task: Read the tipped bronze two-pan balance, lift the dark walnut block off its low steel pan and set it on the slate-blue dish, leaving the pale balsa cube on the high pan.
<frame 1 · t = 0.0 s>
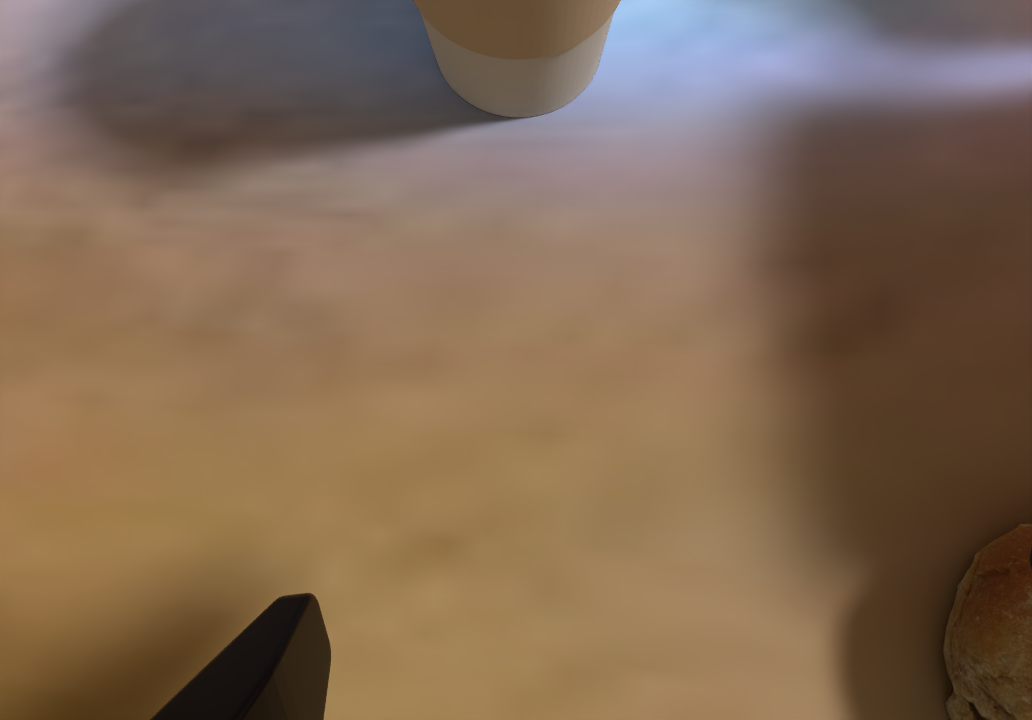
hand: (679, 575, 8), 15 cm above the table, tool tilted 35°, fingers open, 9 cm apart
coffee cup: (517, 44, 26), on the table
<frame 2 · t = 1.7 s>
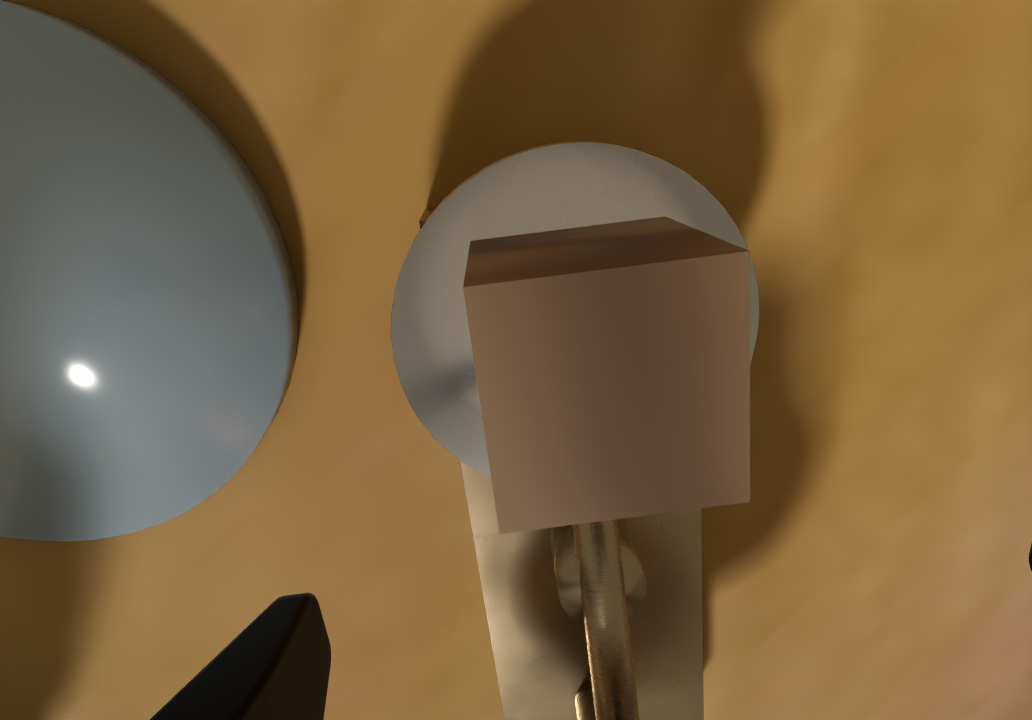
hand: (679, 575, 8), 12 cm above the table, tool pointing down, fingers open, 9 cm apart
balance: (579, 496, 22), on the table
walnut block: (576, 322, 15), point 4 cm above the table, touching balance
dish: (27, 295, 18), on the table
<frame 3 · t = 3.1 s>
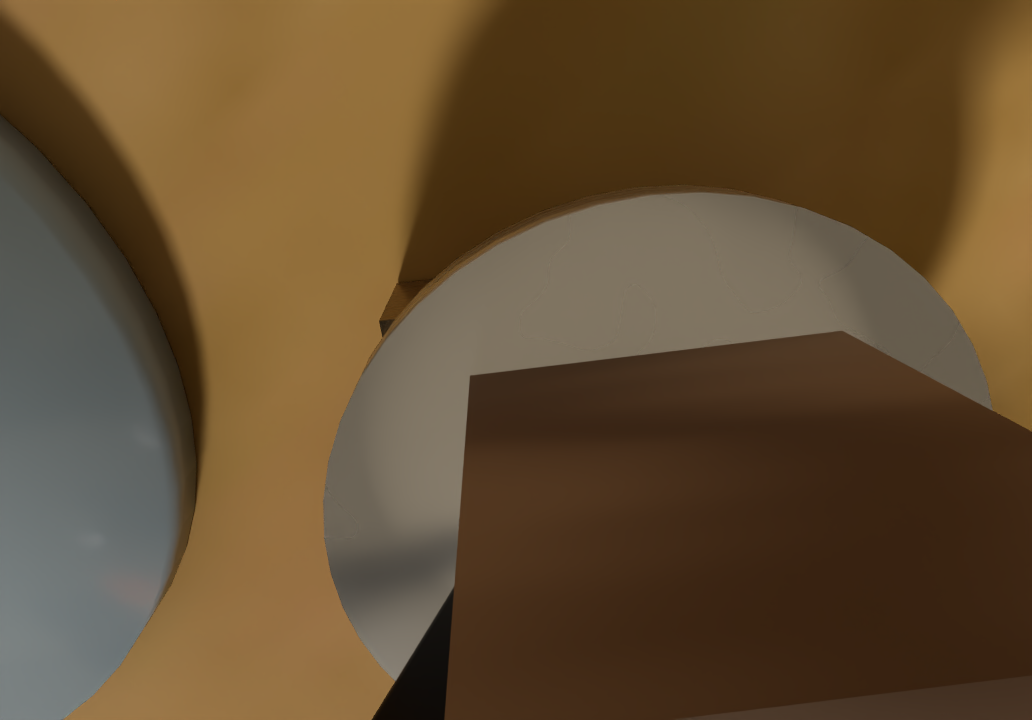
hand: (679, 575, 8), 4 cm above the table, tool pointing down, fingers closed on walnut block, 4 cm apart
balance: (629, 691, 15), on the table
walnut block: (663, 514, 8), point 4 cm above the table, touching balance, gripper
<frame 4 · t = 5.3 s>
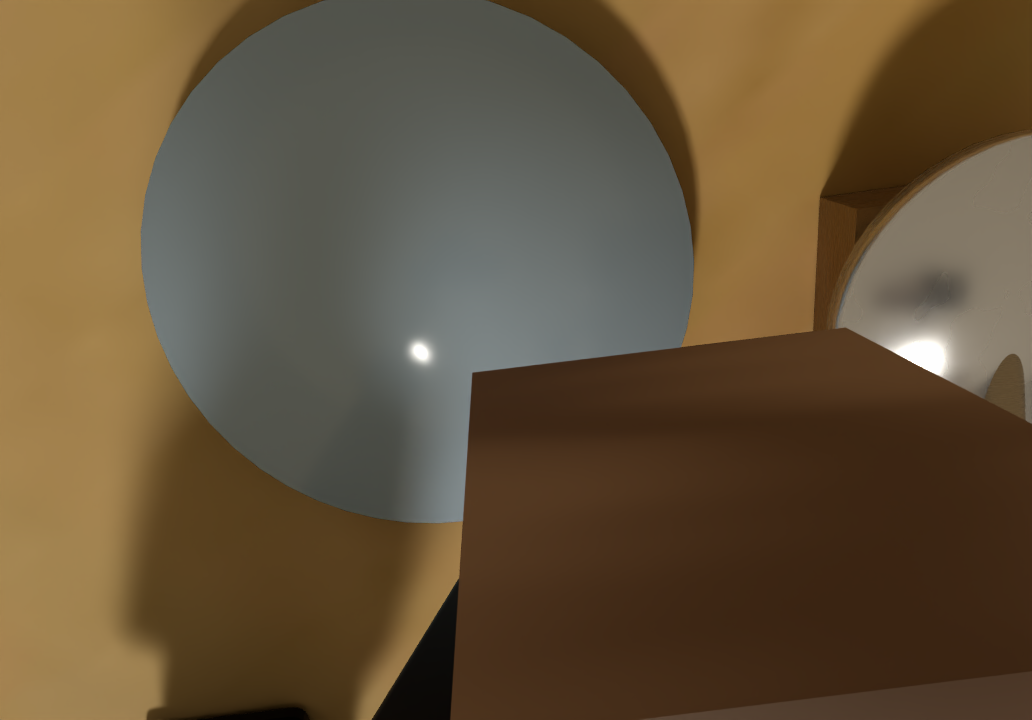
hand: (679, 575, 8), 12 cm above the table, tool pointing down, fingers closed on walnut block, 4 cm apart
balance: (906, 476, 22), on the table
walnut block: (666, 512, 8), point 11 cm above the table, touching gripper
dish: (427, 287, 19), on the table
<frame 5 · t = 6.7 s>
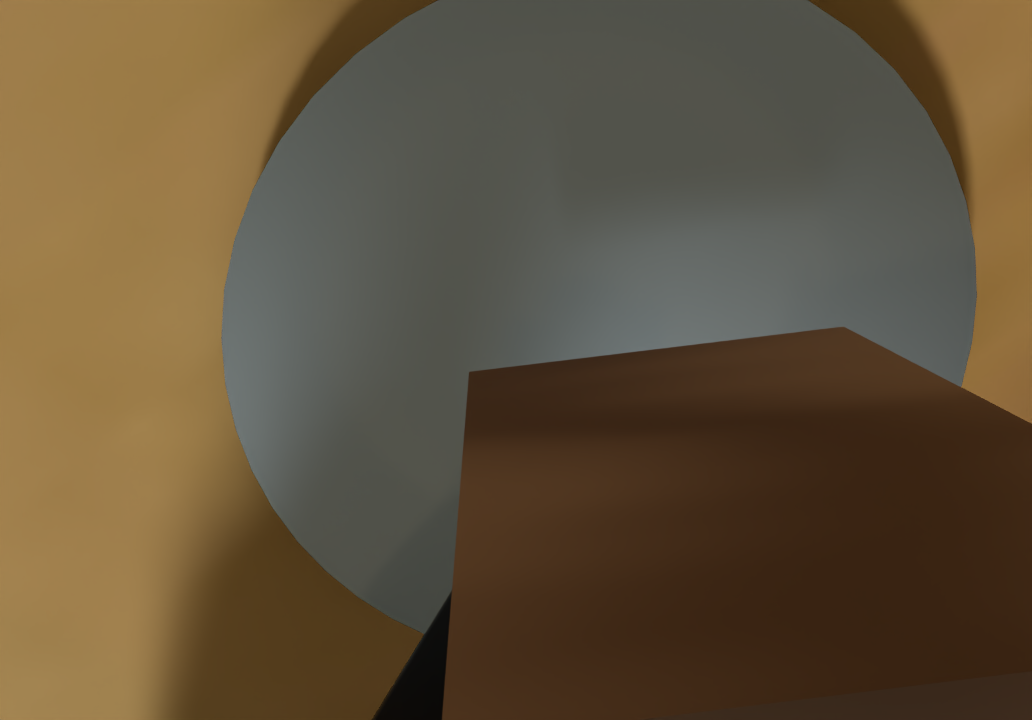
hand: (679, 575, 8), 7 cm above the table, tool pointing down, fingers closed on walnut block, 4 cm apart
walnut block: (663, 512, 8), point 6 cm above the table, touching gripper
dish: (595, 363, 14), on the table
when the fingers open (3 cm above the table, at t = 7.7 s): walnut block drops 1 cm, resting on dish.
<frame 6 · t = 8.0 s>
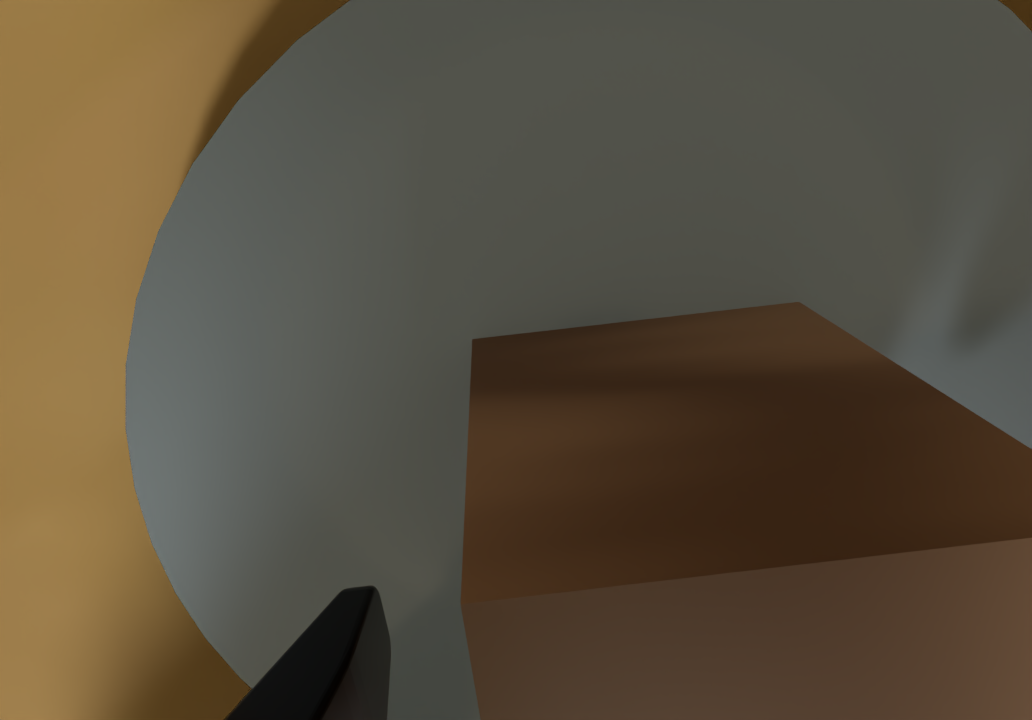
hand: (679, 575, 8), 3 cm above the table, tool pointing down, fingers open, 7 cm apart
walnut block: (640, 462, 10), point 1 cm above the table, touching dish
dish: (626, 445, 11), on the table
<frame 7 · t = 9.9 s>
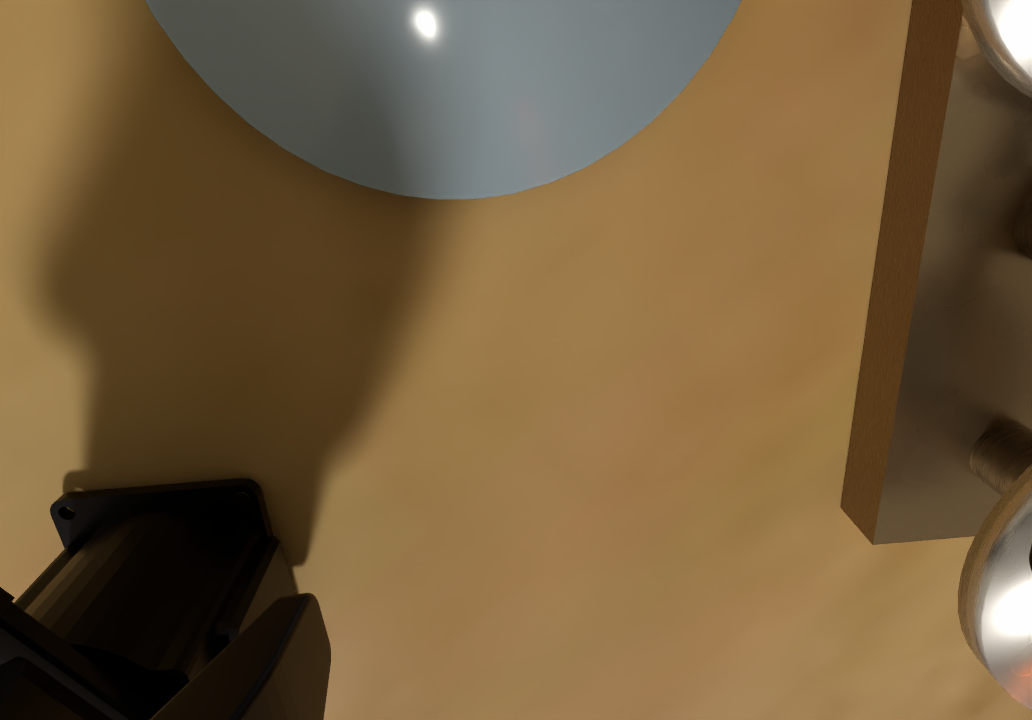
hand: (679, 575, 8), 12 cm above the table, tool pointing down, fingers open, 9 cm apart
balance: (1003, 205, 18), on the table
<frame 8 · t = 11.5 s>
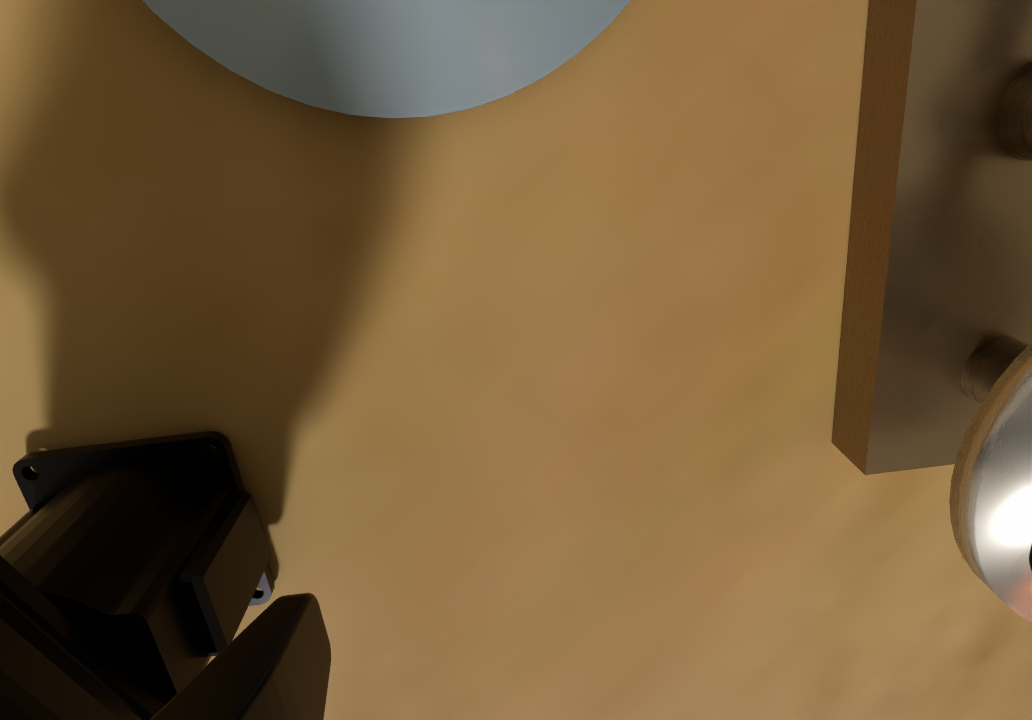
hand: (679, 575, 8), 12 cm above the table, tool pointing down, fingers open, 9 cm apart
balance: (984, 109, 18), on the table
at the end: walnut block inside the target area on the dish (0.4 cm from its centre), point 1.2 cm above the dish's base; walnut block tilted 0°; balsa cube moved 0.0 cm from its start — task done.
